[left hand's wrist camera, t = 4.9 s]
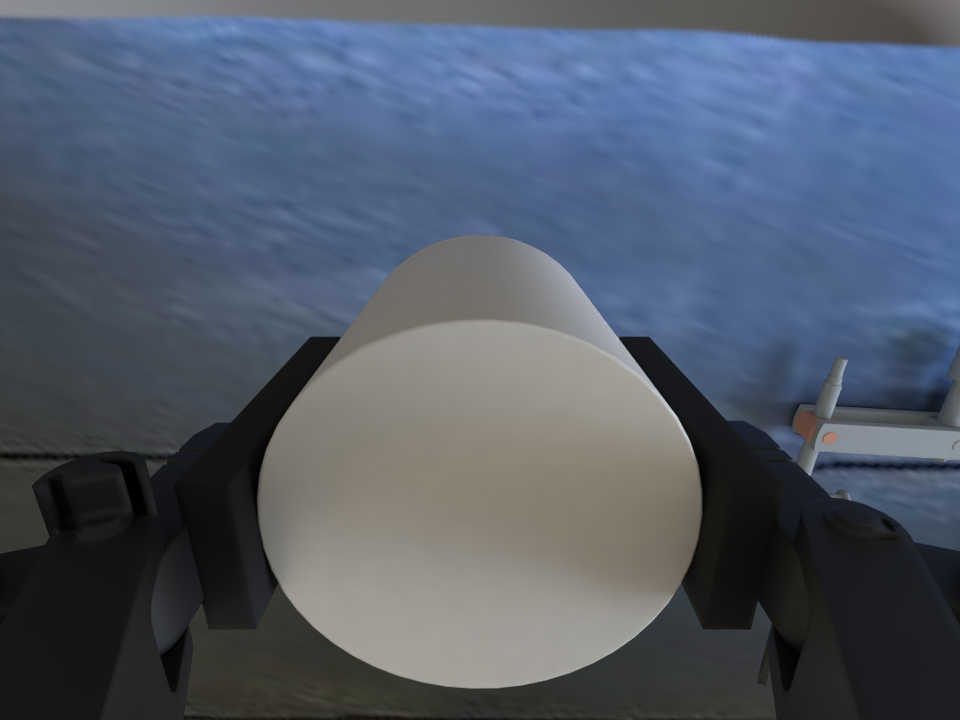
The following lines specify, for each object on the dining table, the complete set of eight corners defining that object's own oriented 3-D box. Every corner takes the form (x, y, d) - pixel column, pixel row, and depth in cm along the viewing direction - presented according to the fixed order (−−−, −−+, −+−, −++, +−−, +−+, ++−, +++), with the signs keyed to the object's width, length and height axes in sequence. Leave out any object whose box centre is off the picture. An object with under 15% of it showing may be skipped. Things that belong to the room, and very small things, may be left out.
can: (578, 209, 15) (685, 269, 7) (611, 431, 17) (717, 656, 10) (331, 264, 15) (180, 376, 8) (398, 472, 18) (336, 716, 10)
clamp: (1096, 356, 24) (1002, 531, 28) (1048, 340, 26) (966, 505, 30) (770, 335, 24) (719, 515, 28) (748, 321, 26) (703, 490, 30)
